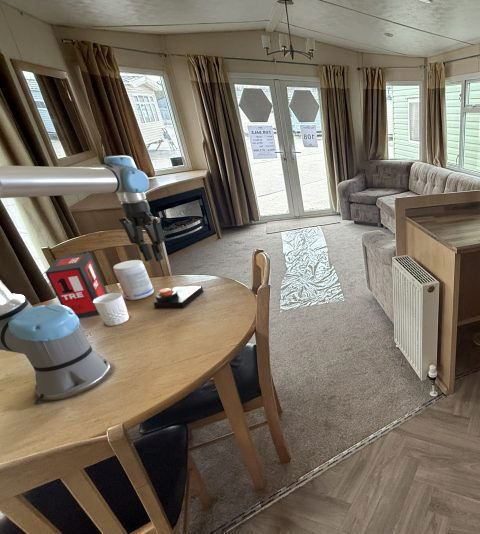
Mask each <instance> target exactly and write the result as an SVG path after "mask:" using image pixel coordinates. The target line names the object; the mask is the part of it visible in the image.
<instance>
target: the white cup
mask: <svg viewBox="0 0 480 534" xmlns="http://www.w3.org/2000/svg"><path fill="white" fill-rule="evenodd" d="M93 303H94V305H95V307H96V309H97V311H98V312H99V316H100V318H101V319H102V321H103V323H104V325H106V326H110V327H112V326H113V327H114V326H118V325H121V324H124V323H126V322H128V320H129V319H130V316H129V312H128V308H127V305H126V303H125V300H124V297H123V294H122V293H121V292H111V293H108V294H105V295H102V296H99V297H97V298H96V299H94V300H93Z"/></svg>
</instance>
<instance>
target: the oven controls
mask: <svg viewBox="0 0 480 534" xmlns="http://www.w3.org/2000/svg"><path fill="white" fill-rule="evenodd" d="M171 290H172V293H173V294H171V295H169V296H164V297H161V296H160V293H159V292H158V293H156V294H155V301H153V302H152V303H153V306H154V309H184V308H186V307H187V306H188V305H190V303H192V302H193V301H194V300H195V299H196V298H198V297H200V295H201V294H202V293H204V288H203V286H202V285H201V286H200V285H198V286H197V285H194V286H193V285H191V286H190V285H189V286H188V285H187V286H186V285H184V286H183V285H182V286H179V285H177V286H174V287H173V288H171Z"/></svg>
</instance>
